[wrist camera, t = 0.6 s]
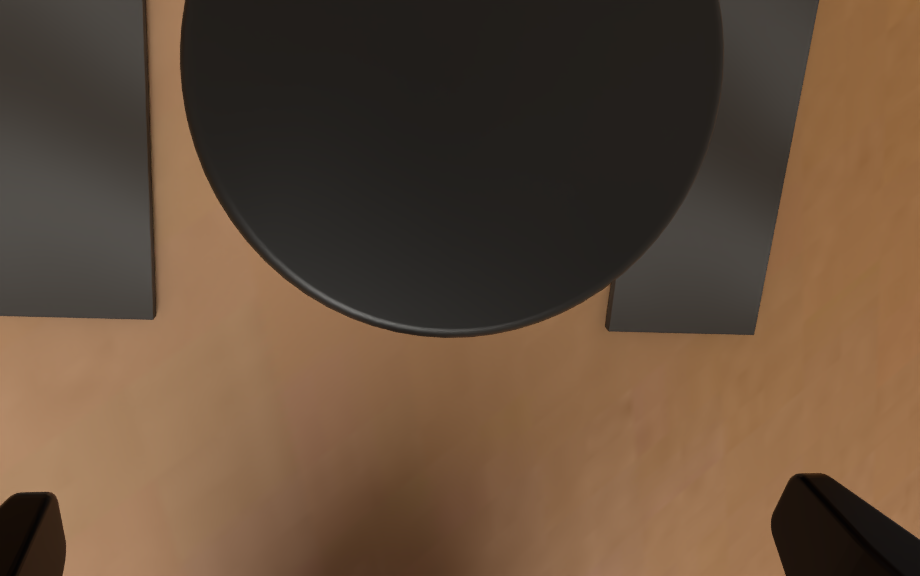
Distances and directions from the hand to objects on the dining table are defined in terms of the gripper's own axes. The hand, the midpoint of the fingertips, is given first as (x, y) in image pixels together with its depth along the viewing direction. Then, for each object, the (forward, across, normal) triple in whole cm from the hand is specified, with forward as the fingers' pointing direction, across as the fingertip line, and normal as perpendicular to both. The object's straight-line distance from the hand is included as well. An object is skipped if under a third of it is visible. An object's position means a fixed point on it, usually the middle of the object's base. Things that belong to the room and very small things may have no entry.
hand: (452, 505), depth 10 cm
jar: (+16, -1, 0) cm, 16 cm away
